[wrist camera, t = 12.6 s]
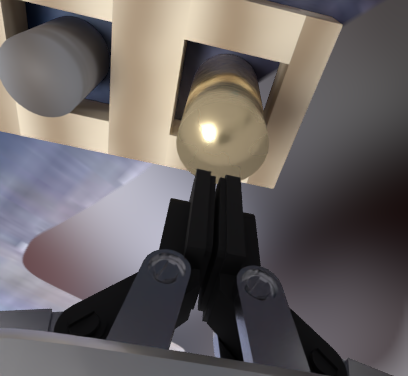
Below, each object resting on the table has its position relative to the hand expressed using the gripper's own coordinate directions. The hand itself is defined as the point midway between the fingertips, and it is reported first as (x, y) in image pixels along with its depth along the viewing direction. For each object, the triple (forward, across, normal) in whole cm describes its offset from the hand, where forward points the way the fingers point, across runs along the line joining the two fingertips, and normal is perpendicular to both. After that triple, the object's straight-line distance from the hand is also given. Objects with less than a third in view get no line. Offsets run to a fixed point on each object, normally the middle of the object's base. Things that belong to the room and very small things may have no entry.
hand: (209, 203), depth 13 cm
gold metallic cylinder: (+12, 0, -1) cm, 12 cm away
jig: (+12, +4, -1) cm, 13 cm away
